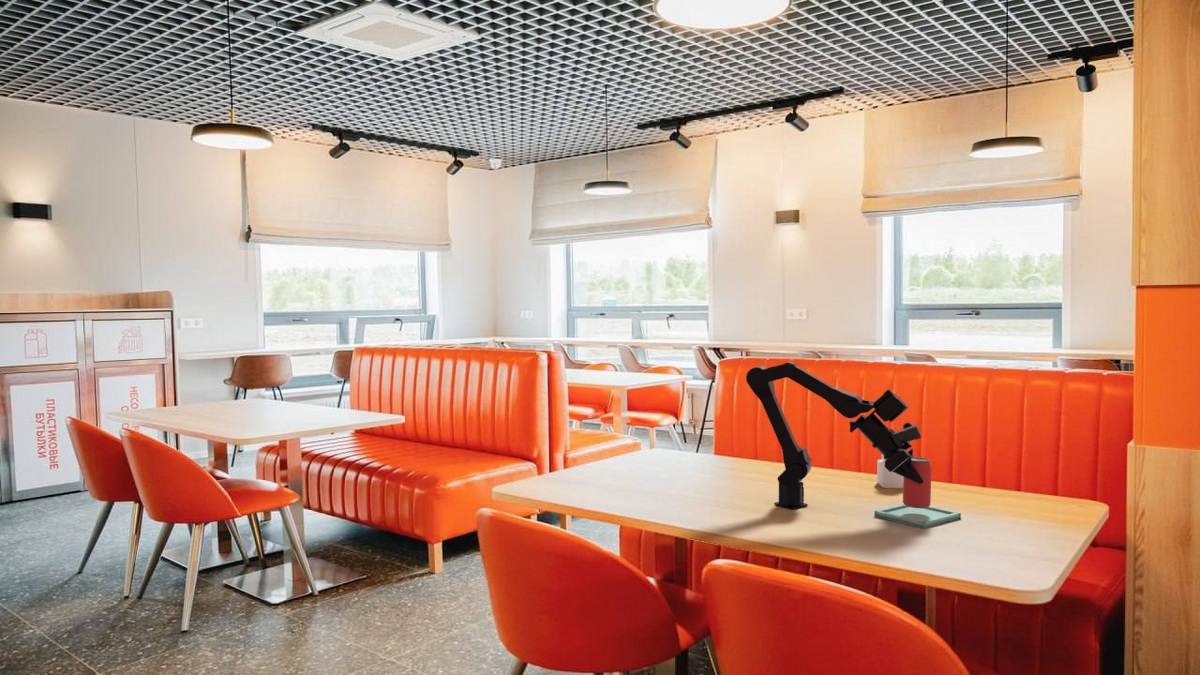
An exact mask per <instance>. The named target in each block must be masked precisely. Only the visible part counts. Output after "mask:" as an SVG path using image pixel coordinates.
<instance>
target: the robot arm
mask: <svg viewBox="0 0 1200 675" xmlns="http://www.w3.org/2000/svg"><path fill="white" fill-rule="evenodd" d="M785 378H787V379H790V380H792V381H793V382H795V383H796V384H798V385H800V386H802V387H803V388H805V389H807V390H808V391H810V392H811V393H813V394H815V395H817V396H819V397H820V398H822V399H824V400H825V401H826V402H827V403H829V405H831V407H832V408H834V409H835V411H837V412H838V413H839V414H840V415H842V416H843V417H845V418H847V419H853V418H856V417H858V416H859V415H860V414H861V415H860V416H859V417H858V418H857V419H856V420H849V432H850V433H854V431H855V430H856V429H858V431H860V433H861V434H862V435H863V436H864V437H865V438H866V439H867V441H869V442H870V443H871V446H872V447H873V448H874V449H877V450H878V452H880V454H881V456H882V455H883V456H884V457H883V458H884V459H885V468H886V469H887V470H888V471H889V472H891V471H892V472H894V473H897V474H899V475H901V476H904V477H906V478H908V479H910V480H912V481H915V482H917V483H919V484H922V483H923V482H924V481H923V479H922V478H921V476H920V475H919V473H918V472H917V471H916V469H915V468H914V466H913V465H912V463H911V457H914V448H913V444H912V442H911V441H914V440H915V441H917V440H919V439H921V438H922V433H921V430H920V428H919V427H918V424H913V423H911V421H910V422H909V421H907V422H906V423H903V427H902V428H901V429H899V430H897V431H896V430H894V429H893V428H889V427H887V425H886V424H885V423H886V422H888V421H889V422H891V423H893V422H894V421H895V420H896V419H897V418H898V417H900V416H901V415H902V414H903V413H904V412H905V411H907V410H908V409H909V406H908V404H906V402H905V401H904V400H903V399H902V398H901V397H900V396H898V395H897V394H896V393H894V391H892V390H891V389H890V388H888V389H886V390H885V391H884V392H883V394H882V395H881V396H879V397H878V398H877V399H876V400H875V401H872V400H867V399H863V398H862V397H860V396H859V395H858V394H855V393H854V392H853V393H852V392H850V391H847V390H844V389H841V388H837V387H835V386H833V385H831V384H829V383H828V382H826V381H824V380H823V379H821V378H819V377H818V376H816V375H814V374H813V373H811V372H808V371H807V370H805V369H804V368H802V367H800V366H799V365H797V364H796V363H795V362H793V361H788V362H785V363H783V364H778V365H772V366H770V367H767V366H764V365H758V366H755V367H753V368H750V369H749V370H748V372H747V373H746V376H745V381H746V384H747V385H748V386H749V388H750V389H751V391H752V392H753V394H754V396H756V398H758V400H759V401H760V402H761V404H762V406H763V409H764V410H765V413H766V415H767V419H768V421H769V422H770V425H771V427H772V429H773V431H774V434H775V436H776V438H777V441H778V443H779V446H780V448H781V451H782V459H783V465H784V468H785V469H783V471H782V472H781V473H780V474H779V475H778V477H777V481H778V501H777V502H774V503H773V504H774V505H775V506H779V507H783V508H786V509H789V510H795V509H799V508H802V507H803V508H804V507H808V503H805V502H804V501H805V500H804V498H805V488H804V482H802V481H803V480H804V479H805V478H806V477H807V476H808V474H809V473H810V471H811V470H812V463H811V462H812V461H813V459H812V457H811V456H810V454H809V452H808V448H807V446H803V447H802V448H801V446H800V445H799V444H798V443H797V441H796V439H795V436H794V434H793V432H792V429H791V427H790V426H789V423H788V421H787V418H786V416H785V414H784V412H783V409H782V407H781V405H780V403H779V400H778V398H777V395H776V390H775V382H774V381H777V380H781V379H785ZM873 409H874V410H873ZM871 410H872V411H871ZM870 411H871V412H870ZM869 412H870V413H869ZM865 413H869V414H867V415H864V414H865ZM884 422H885V423H884ZM909 448H910V449H909ZM908 449H909V450H908Z"/></svg>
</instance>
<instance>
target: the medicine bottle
mask: <svg viewBox="0 0 1200 675" xmlns="http://www.w3.org/2000/svg"><path fill="white" fill-rule="evenodd" d="M883 457H884V456H883V455H882V454H881V459H877V461H876V462H877V465H876V468H877V472H876V474H877V475H876V482H877V484H878V485H879V486H880V487H881V488H883V489H903V476H901V475H899V474H897V473H894V472H892V471H891V472H889V471H888V470H887V469H886V468H885V459H884V458H883Z"/></svg>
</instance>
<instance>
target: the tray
mask: <svg viewBox="0 0 1200 675" xmlns="http://www.w3.org/2000/svg"><path fill="white" fill-rule="evenodd" d="M873 515H874V517H875V516H876V518H879V517H880V519H884V520H888V521H892V522H896V523H899V524H903V523H904V525H907V524H908V525H907V526H911V525H912V527H915V526H916V527H915V528H919V527H920V528H919V529H923V528H924V529H927V528H930V526H931V527H934V526H933V525H935V526H937V524H938V525H942V524H944V522H946V523H949V522H948V521H950V522H952V521H951V520H953V521H956V520H955V519H957V520H960V519H959V518H961V517H962V516H961V515H962V513H961V512H958V511H954V510H950V509H944V508H940V507H935V506H931V505H930V506H929V507H927V508H912V507H908V506H906V505H904V503H903V504H898V505H895V506H890V507H885V508H881V509H877V510H874V513H873ZM961 519H962V518H961ZM941 523H942V524H941ZM926 527H927V528H926Z"/></svg>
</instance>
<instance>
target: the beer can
mask: <svg viewBox="0 0 1200 675" xmlns="http://www.w3.org/2000/svg"><path fill="white" fill-rule="evenodd" d="M911 463H912V465H913V466H914V468H915V469H916V471H917V472H918V473H919V475H920V476H921V478H922V479H923V481H924V482H923V483H922V484H919V483H917V482H915V481H912V480H910V479H908V478H906V477H904V476H903V488H902V503H903V504H904V505H906V506H908V507H912V508H927V507H929V506H931V503H932V501H931V499H932V498H931V497H932V496H931V494H932V492H931V491H932V465H931V463H930V459H928V458H925V457H922V456H921V457H920V456H913V457H911Z"/></svg>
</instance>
